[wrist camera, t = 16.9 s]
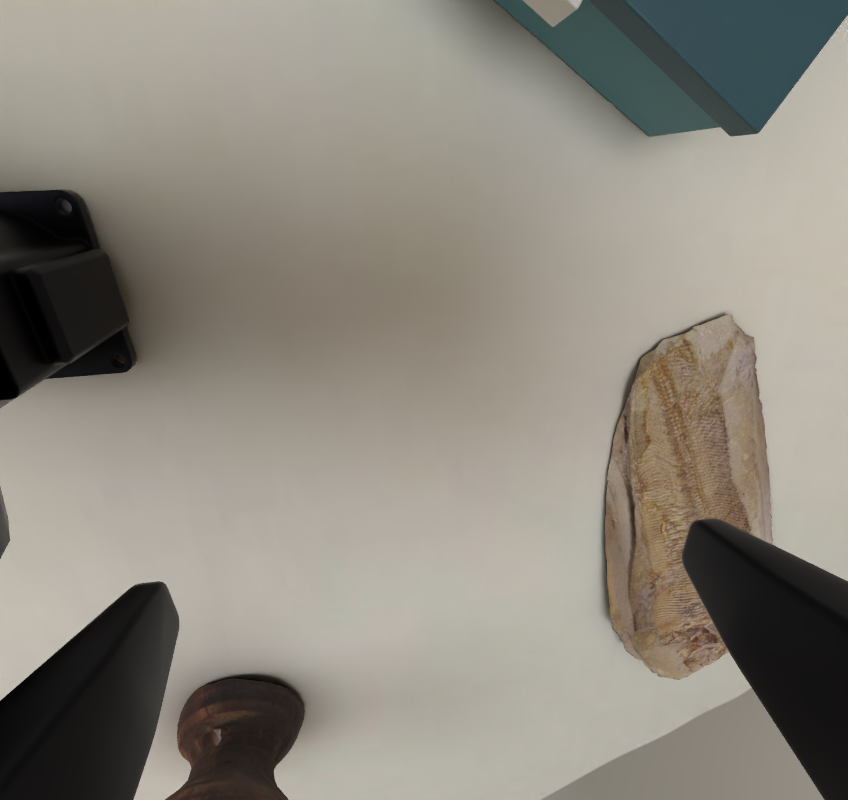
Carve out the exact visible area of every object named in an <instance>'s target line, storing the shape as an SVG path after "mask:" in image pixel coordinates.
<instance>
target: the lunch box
mask: <svg viewBox="0 0 848 800" xmlns="http://www.w3.org/2000/svg"><path fill="white" fill-rule="evenodd" d="M494 1H495V2H497V3H498V4H499V5H500V6H501V7H502V8H503V9H505V10H506V11H507V12H508V13H509V14H510V15H511V16H513V17H514V18H515V19H516V20H517V21H518V22H519V23H521V24H522V25H523V26H524V27H525V28H526V29H527V30H529V31H530V32H531V33H532V34H533V35H534V36H535V37H537V38H538V39H539V40H540V41H541V42H542V43H543V44H545V45H546V46H547V47H548V48H549V49H550V50H551V51H553V52H554V53H555V54H556V55H557V56H558V57H559V58H561V59H562V60H563V61H564V62H565V63H566V64H567V65H569V66H570V67H571V68H572V69H573V70H574V71H575V72H576V73H578V74H579V75H580V76H581V77H582V78H583V79H584V80H586V81H587V82H588V83H589V84H590V85H591V86H592V87H594V88H595V89H596V90H597V91H598V92H599V93H600V94H602V95H603V96H604V97H605V98H606V99H607V100H608V101H610V102H611V103H612V104H613V105H614V106H615V107H616V108H618V109H619V110H620V111H621V112H622V113H623V114H624V115H626V116H627V117H628V118H629V119H630V120H631V121H632V122H634V123H635V124H636V125H637V126H638V127H639V128H640V129H642V130H643V131H644V132H645V133H646V134H647V135H648V136H658V135H665V134H673V133H680V132H688V131H695V130H702V129H710V128H717V127H721V128H722V129H723V130H724V131H725V132H726V133H727V134H728V135H730V136H740V135H749V134H757V133H759V132H760V131H761V129H762V128H763V127H764V125H765V124H766V123H767V121H768V120H769V119H770V117H771V116H772V115H773V113H774V112H775V111H776V109H777V108H778V107H779V105H780V104H781V103H782V101H783V100H784V99H785V97H786V96H787V95H788V93H789V92H790V91H791V89H792V88H793V87H794V85H795V84H796V83H797V81H798V80H799V79H800V77H801V76H802V75H803V73H804V72H805V71H806V69H807V68H808V67H809V65H810V64H811V63H812V61H813V60H814V59H815V57H816V56H817V55H818V53H819V52H820V51H821V49H822V48H823V47H824V45H825V44H826V43H827V41H828V40H829V39H830V37H831V36H832V35H833V33H834V32H835V31H836V29H837V28H838V27H839V25H840V24H841V23H842V21H843V20H844V19H845V17H846V16H847V15H848V0H494Z"/></svg>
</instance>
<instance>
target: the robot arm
mask: <svg viewBox="0 0 848 800" xmlns="http://www.w3.org/2000/svg"><path fill="white" fill-rule="evenodd" d="M63 199H65V200H67V201H68V202H69V203H70V205H71V206H72V211H71V213H67V212H66V211H64V209H63V208H62V205H61V202H62V200H63ZM128 322H129V318H128V315H127V312H126V309H125V306H124V303H123V300H122V297H121V294H120V291H119V288H118V285H117V282H116V279H115V276H114V273H113V270H112V267H111V264H110V261H109V258H108V255H107V254H105V253H104V252H103V251H102V250H100V247H99V244H98V241H97V238H96V235H95V232H94V229H93V226H92V223H91V220H90V217H89V214H88V211H87V208H86V205H85V203H84V201H83V200H82V198H81V197H80V196H79V195H78V194H76V193H74V192H72V191H69V190H45V191H20V192H0V408H1V407H3V406H4V405H6V404H7V403H9V402H10V401H12V400H13V399H15V398H17V397H18V396H20V395H21V394H23V393H24V392H26V391H27V390H29V389H31V388H32V387H34V386H35V385H37V384H38V383H40V382H41V381H43V380H44V379H51V378H63V377H75V376H88V375H100V374H112V373H123V372H127V371H128V370H129V369H131V368H132V367H133V366H134V365H135V364H136V361H137V360H136V354H135V351H134V348H133V345H132V342H131V339H130V336H129V333H128V330H127V327H126V325H127V323H128ZM116 355H121V356H122V357H123V358H124V359H125V363H121V362H119V361H118V360H117V359H116ZM9 541H10V536H9V524H8V516H7V512H6V508H5V504H4V500H3V496H2V492H1V488H0V558H1V556H2V554H3V552H4V551H5V549H6V547H7V545H8V543H9ZM682 563H683V566H684V568H685V571H686V572H687V574H688V576H689V578H690V580H691V582H692V584H693V586H694V588H695V589H696V591H697V593H698V595H699V597H700V599H701V601H702V603H703V605H704V606H705V608H706V610H707V612H708V614H709V616H710V618H711V620H712V622H713V623H714V625H715V627H716V629H717V631H718V633H719V635H720V637H721V638H722V640H723V642H724V644H725V646H726V647H727V649H728V651H729V652H730V654H731V656H732V657H733V659H734V661H735V662H736V664H737V665H738V667H739V669H740V670H741V672H742V673H743V675H744V676H745V678H746V679H747V681H748V682H749V684H750V686H751V687H752V689H753V690H754V692H755V693H756V695H757V696H758V698H759V699H760V701H761V702H762V704H763V706H764V707H765V709H766V710H767V712H768V713H769V715H770V716H771V718H772V719H773V721H774V723H775V724H776V726H777V727H778V729H779V730H780V732H781V733H782V735H783V736H784V738H785V739H786V741H787V743H788V744H789V746H790V747H791V749H792V750H793V752H794V753H795V755H796V756H797V758H798V760H799V761H800V762H801V764H802V766H803V767H804V769H805V770H806V772H807V773H808V775H809V776H810V778H811V779H812V781H813V783H814V784H815V786H816V787H817V789H818V790H819V792H820V793H821V795H822V796H823V798H824V799H825V800H848V581H846V580H844V579H842V578H840V577H838V576H835V575H833V574H831V573H829V572H827V571H825V570H823V569H821V568H819V567H817V566H815V565H813V564H811V563H809V562H807V561H805V560H803V559H801V558H798V557H796V556H794V555H792V554H790V553H788V552H786V551H784V550H782V549H780V548H778V547H776V546H774V545H772V544H770V543H768V542H766V541H764V540H762V539H759V538H757V537H755V536H753V535H751V534H749V533H747V532H745V531H743V530H741V529H739V528H737V527H735V526H733V525H731V524H729V523H727V522H725V521H722V520H720V519H716V518H711V519H702V520H696V521H694V522H693V523H692V524H691V525H690V527H689V531H688V534H687V538H686V541H685V544H684V548H683V551H682ZM178 631H179V616H178V613H177V610H176V608H175V605H174V603H173V600H172V598H171V595H170V593H169V590H168V588H167V586H166V584H164V583H163V582H159V581H158V582H150V583H141V584H137V585H134V586H133V587H131V588H130V589H129V590H127V591H126V592H125V593H124V594H123V595H122V596H121V597H119V598H118V599H117V600H116V601H115V602H114V603H112V604H111V605H110V606H109V607H108V608H107V609H106V610H104V611H103V612H102V613H101V614H100V615H99V616H98V617H96V618H95V619H94V620H93V621H92V622H91V623H89V624H88V625H87V626H86V627H85V628H84V629H83V630H81V631H80V632H79V633H78V634H77V635H76V636H74V637H73V638H72V639H71V640H70V641H69V642H68V643H66V644H65V645H64V646H63V647H62V648H61V649H59V650H58V651H57V652H56V653H55V654H54V655H53V656H51V657H50V658H49V659H48V660H47V661H46V662H45V663H43V664H42V665H41V666H40V667H39V668H38V669H36V670H35V671H34V672H33V673H32V674H31V675H30V676H28V677H27V678H26V679H25V680H24V681H23V682H21V683H20V684H19V685H18V686H17V687H16V688H15V689H13V690H12V691H11V692H10V693H9V694H8V695H6V696H5V697H4V698H3V699H2V700H1V701H0V800H133V799H134V796H135V793H136V790H137V787H138V784H139V781H140V778H141V775H142V772H143V769H144V766H145V763H146V760H147V757H148V754H149V751H150V748H151V745H152V741H153V738H154V735H155V731H156V727H157V723H158V719H159V715H160V711H161V706H162V702H163V697H164V693H165V689H166V684H167V680H168V675H169V671H170V667H171V662H172V658H173V653H174V649H175V645H176V640H177V636H178Z"/></svg>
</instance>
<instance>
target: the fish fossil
mask: <svg viewBox="0 0 848 800" xmlns="http://www.w3.org/2000/svg"><path fill="white" fill-rule="evenodd" d="M755 363H756V355H755V344H754V338H753V337H750V336H746V335H745V333H744V332H743V331H742V329H741V328H740V327H739V326H737V325H736V324H735V323H734V321H733V318H732V315H728V314H727V315H725V316H722V317H720V318H718V319H715V320H713V321H709V322H707V323H704V324H702V325H698V326H694V327H693V329H692V330H691V331H689V332H687V333H685V334H681V335H678V336H674V337H671V338H668V339H663V340H662V341H661V343H660V344H659V345H658V347H657V348H656V349H654V350H653V351H651V352H649V353H647V354H646V355H645V356H643V357H642V358H641V359H640V363H639V367H638V370H637V374H636V378H635V382H634V384H633V386H632V391H631V393H630V395H629V397H628V399H627V401H626V405H625V408H624V410H623V413H622V415H621V418H620V420H619V422H618V425H617V428H616V432H615V435H614V439H613V446H612V453H611V459H610V465H609V468H608V476H607V480H608V481H609V482H608V484H607V494H606V517H605V538H606V543H605V551H606V558H607V585H608V591H607V592H608V596H609V603H610V606H611V607H610V608H609V611H610V615H611V620H612V627H613V630H614V631H615V632H616V633H617V634H619V636H620V637H621V641H622V642H623V643H624V648H625V650H626V651H627V652H628V653H629V654H631V655H632V656H634V657H635V658H636V659H639V660H641V661H643V663H644V664H645V665H646V666H647V667H648V668H649V669H650V670H651V671H652V672H653V673H656V674H657V675H658V676H659V677H668V678H672V679H677V680H679V679H681V678H684V677H688V676H689V675H691V674H692V673H694V672H696V671H698V670H700V669H701V668H703V667H704V666H706V665H710V664H711V663H713V662H715V661H716V660H718V659H719V658H720V657H721V656H722V655H724V654H726V653H728V652H729V651H728V649H727V647H726V646H725V644H724V642H723V640H722V638H721V637H720V635H719V633H718V631H717V629H716V627H715V625H714V623H713V622H712V620H711V618H710V616H709V614H708V612H707V610H706V608H705V606H704V605H703V603H702V601H701V599H700V597H699V595H698V593H697V591H696V589H695V588H694V586H693V584H692V582H691V580H690V578H689V576H688V574H687V572H686V571H685V568H684V566H683V563H682V551H683V548H684V544H685V541H686V538H687V534H688V531H689V527H690V525H691V524H692V523H693V522H694V521H696V520H702V519H711V518H716V519H720V520H722V521H725V522H727V523H729V524H731V525H733V526H735V527H737V528H739V529H741V530H743V531H745V532H747V533H749V534H751V535H753V536H755V537H757V538H759V539H762V540H764V541H766V542H768V543H770V544H772V533H771V527H772V521H771V518H772V515H771V503H770V485H769V467H768V462H767V454H766V447H767V446H766V440H765V429H764V420H763V415H762V404H761V402H760V400H759V387H758V382H757V375H756V368H755ZM609 484H610V485H609Z"/></svg>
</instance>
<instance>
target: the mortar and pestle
mask: <svg viewBox="0 0 848 800" xmlns="http://www.w3.org/2000/svg"><path fill="white" fill-rule="evenodd" d="M304 713H305V710H304V705H303V704H302V702H301V701H300V699H299V698H298V697H297V696H296V695H295V693H294V692H292V691H291V690H289V689H288V688H285V687H283V686H280V685H277V684H273V683H270V682H262V681H254V680H246V679H238V678H233V679H226V680H221V681H218V682H216V683H213V684H208V685H205V686H203V687H202V688H200V689H198V690H197V691H196V692H195V693H194V694H193V695H192V696H191V697H190V698H189V699H188V700H187V702H186V704H185V706H184V708H183V710H182V712H181V715H180V719H179V723H178V725H177V726H178V731H177V741H178V749H179V751H180V753H181V755H182V756H183V757H184V758H185V759H186V760H187V761H189V762H190V765H191V768H192V769H191V772H190V775H189V778H188V781H187V782H186V783H185V784H184V785H183V786H182V787H181V788H180V789H179V790H178V791H176V792H175V793H174V794H172V795H171V796H170V797H168V798H167V799H166V800H288V798H287V797H286V796H285V795H284V794H283V792H282V791H281V790H280V789H279V788H278V787H277V784H276V782H275V779H274V769H275V767H276V765H277V764H278V763H279V762H280V761H281V760H282V759H283V758H284V757H285V756H286V755H287V753H288V752H289V750H290V749H291V748H292V746H293V744H294V742H295V741H296V739H297V736H298V734H299V731H300V728H301V726H302V723H303V720H304Z"/></svg>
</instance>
